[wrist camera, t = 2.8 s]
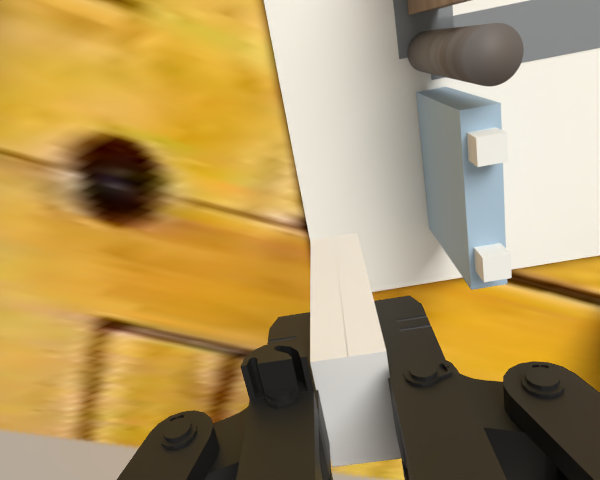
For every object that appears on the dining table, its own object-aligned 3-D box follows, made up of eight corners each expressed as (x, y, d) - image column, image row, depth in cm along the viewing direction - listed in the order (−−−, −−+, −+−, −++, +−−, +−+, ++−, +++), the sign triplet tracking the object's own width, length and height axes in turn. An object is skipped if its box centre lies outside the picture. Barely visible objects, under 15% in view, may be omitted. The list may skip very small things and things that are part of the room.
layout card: (321, 295, 28) (321, 300, 28) (236, -145, 21) (234, -150, 20) (607, 248, 27) (614, 252, 26) (630, -236, 19) (640, -245, 19)
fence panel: (429, 228, 26) (479, 302, 18) (416, 92, 23) (468, 114, 16) (455, 223, 26) (517, 296, 18) (445, 86, 23) (512, 106, 16)
